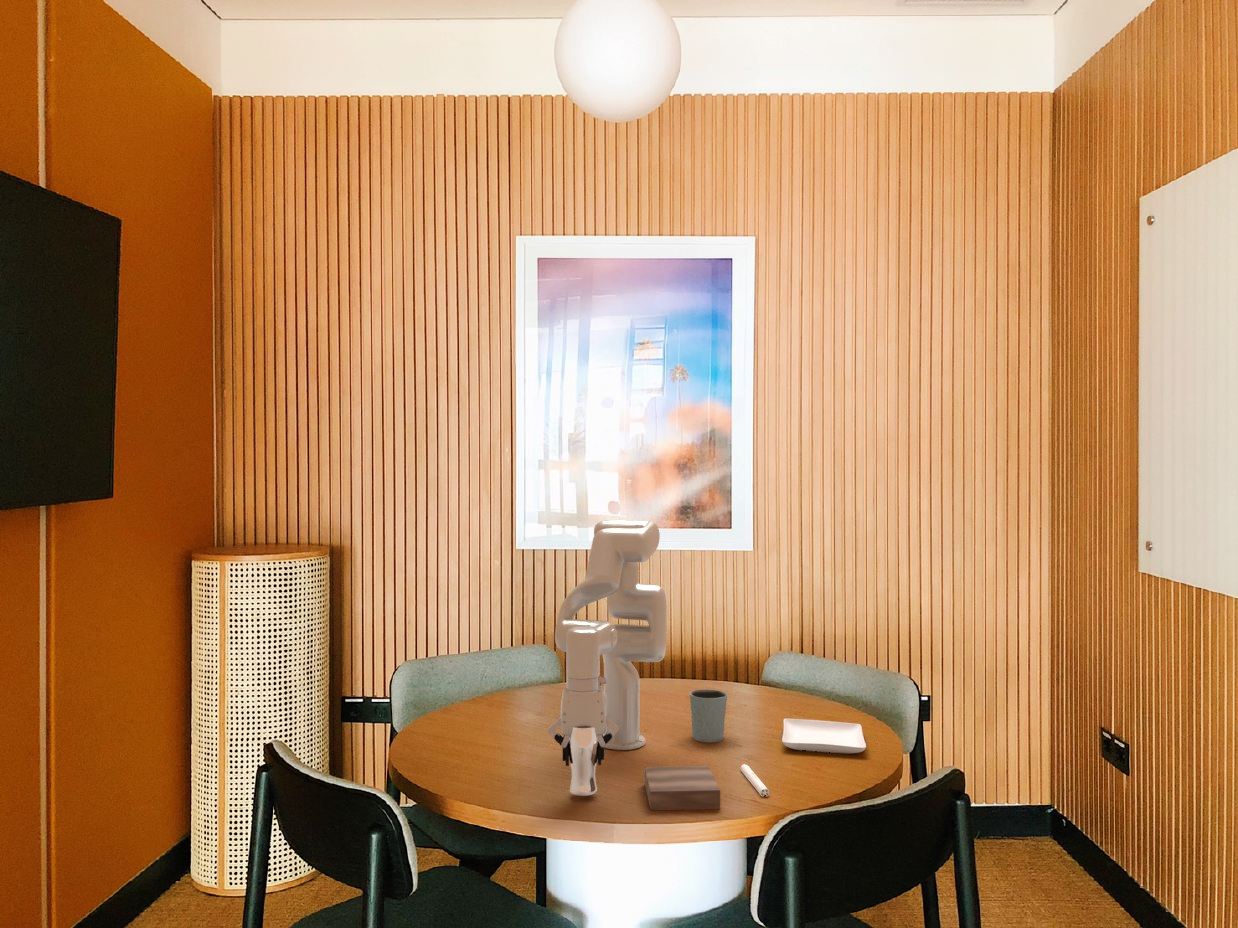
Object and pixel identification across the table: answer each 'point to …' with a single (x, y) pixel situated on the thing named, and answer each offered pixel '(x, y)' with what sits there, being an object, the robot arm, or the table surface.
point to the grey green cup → (708, 715)
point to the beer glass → (583, 760)
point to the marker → (754, 780)
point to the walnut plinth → (681, 788)
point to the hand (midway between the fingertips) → (583, 762)
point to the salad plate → (823, 736)
